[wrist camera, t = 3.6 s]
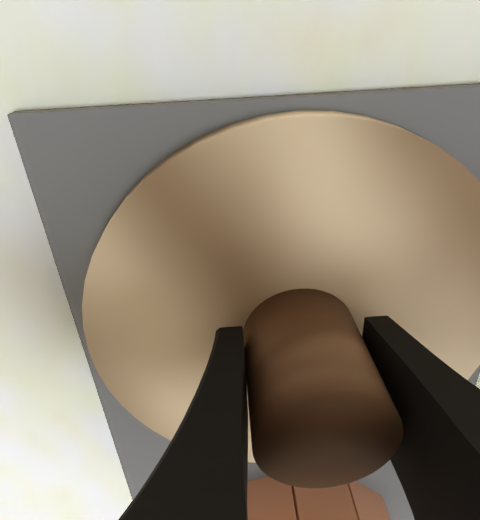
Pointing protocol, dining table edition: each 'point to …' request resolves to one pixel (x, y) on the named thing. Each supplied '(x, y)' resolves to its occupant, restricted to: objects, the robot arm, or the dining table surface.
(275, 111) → the mat
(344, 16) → the dining table surface
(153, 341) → the lid
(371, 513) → the bowl
